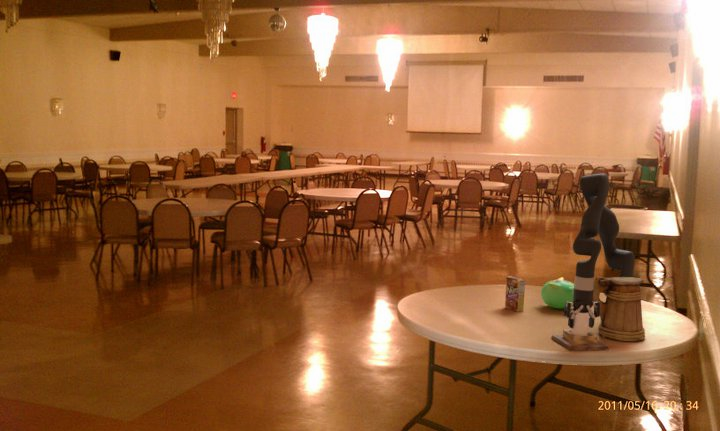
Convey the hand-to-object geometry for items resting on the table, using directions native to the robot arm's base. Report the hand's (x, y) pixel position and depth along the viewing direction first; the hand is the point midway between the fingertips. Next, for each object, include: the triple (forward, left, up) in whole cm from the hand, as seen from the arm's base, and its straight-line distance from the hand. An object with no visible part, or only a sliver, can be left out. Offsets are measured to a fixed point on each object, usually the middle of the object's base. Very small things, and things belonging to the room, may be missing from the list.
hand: (580, 327), depth 279 cm
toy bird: (-20, -56, -7) cm, 60 cm away
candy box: (+4, -55, -7) cm, 56 cm away
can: (0, 0, -6) cm, 6 cm away
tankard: (-22, -10, -7) cm, 25 cm away
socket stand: (0, 0, -7) cm, 7 cm away
